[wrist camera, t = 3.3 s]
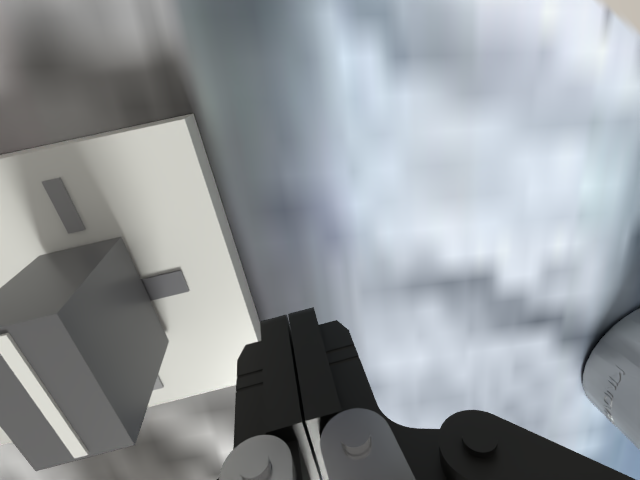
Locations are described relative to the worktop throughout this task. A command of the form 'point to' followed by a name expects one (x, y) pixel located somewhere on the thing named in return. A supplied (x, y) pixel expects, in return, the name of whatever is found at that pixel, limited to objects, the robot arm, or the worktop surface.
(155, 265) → the fader console
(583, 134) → the worktop surface
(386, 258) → the worktop surface
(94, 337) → the fader cap
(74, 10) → the worktop surface
